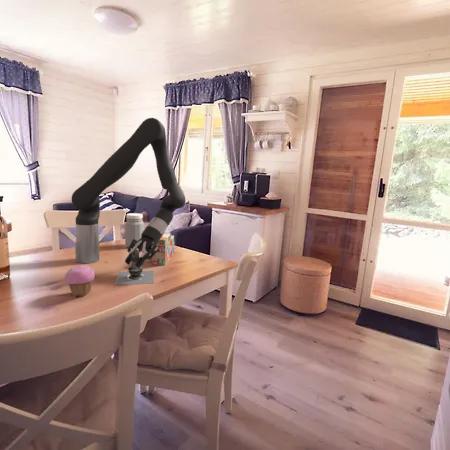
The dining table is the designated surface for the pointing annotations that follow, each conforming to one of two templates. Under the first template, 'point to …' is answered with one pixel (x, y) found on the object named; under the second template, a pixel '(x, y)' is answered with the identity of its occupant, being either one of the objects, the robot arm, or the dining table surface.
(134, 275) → the grey chess piece
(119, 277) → the mat
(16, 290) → the dining table surface
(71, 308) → the dining table surface
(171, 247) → the stack of blocks
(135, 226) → the jar
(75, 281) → the cupcake
